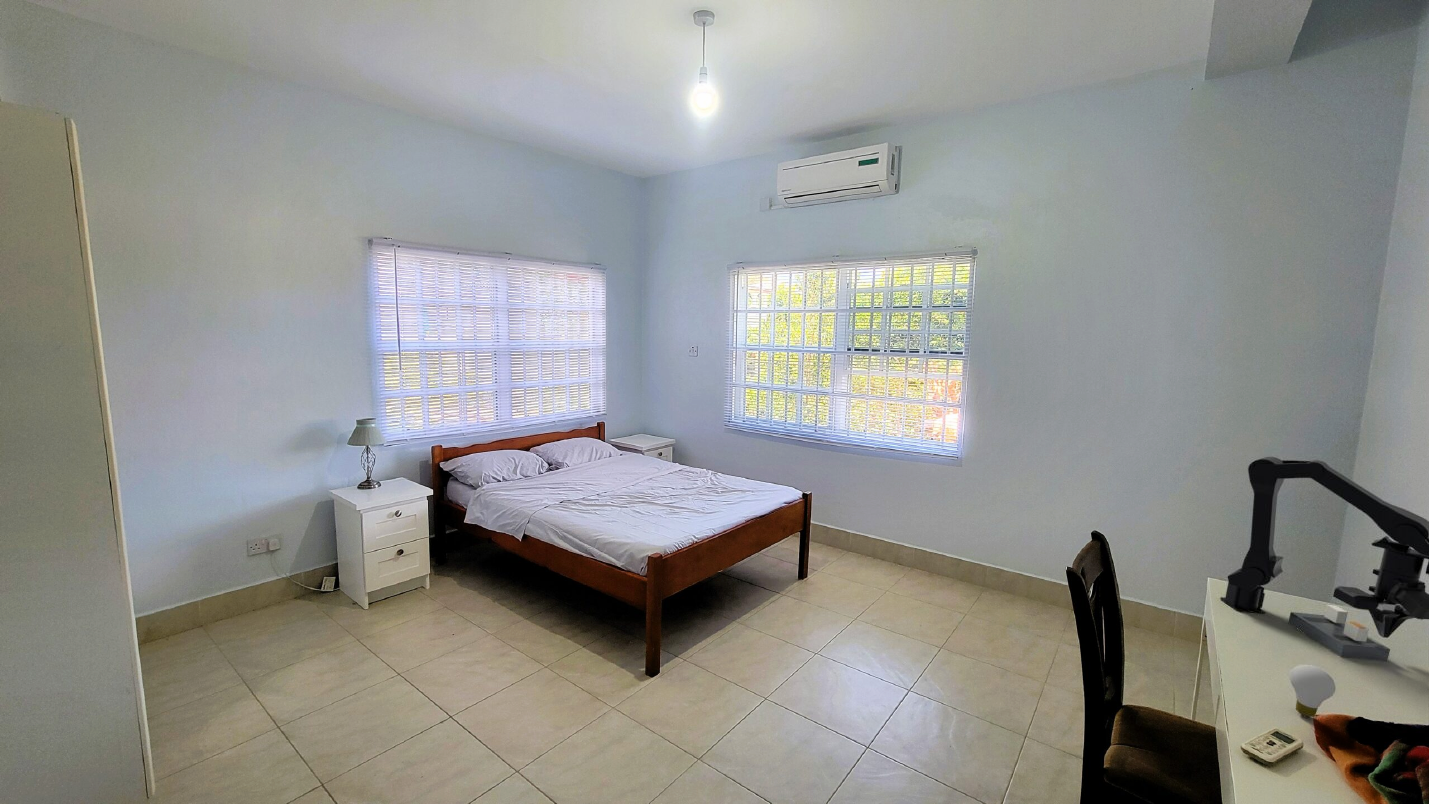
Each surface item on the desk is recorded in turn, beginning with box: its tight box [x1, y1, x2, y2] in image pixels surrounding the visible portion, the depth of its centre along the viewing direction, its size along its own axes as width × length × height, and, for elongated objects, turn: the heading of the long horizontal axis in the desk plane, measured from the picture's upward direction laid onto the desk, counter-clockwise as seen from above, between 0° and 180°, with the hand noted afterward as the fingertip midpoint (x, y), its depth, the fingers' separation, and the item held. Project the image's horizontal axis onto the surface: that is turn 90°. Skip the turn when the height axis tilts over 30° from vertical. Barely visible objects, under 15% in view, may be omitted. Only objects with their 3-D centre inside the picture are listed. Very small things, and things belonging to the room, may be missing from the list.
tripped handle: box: [1343, 620, 1369, 642], centre depth 129 cm, size 2×3×3 cm, turn 172°
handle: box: [1323, 604, 1349, 624], centre depth 136 cm, size 2×3×3 cm, turn 172°
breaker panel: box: [1288, 611, 1391, 662], centre depth 133 cm, size 9×14×3 cm, turn 172°
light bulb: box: [1289, 664, 1336, 718], centre depth 107 cm, size 6×6×10 cm
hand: (1383, 636), depth 128 cm, fingers closed
